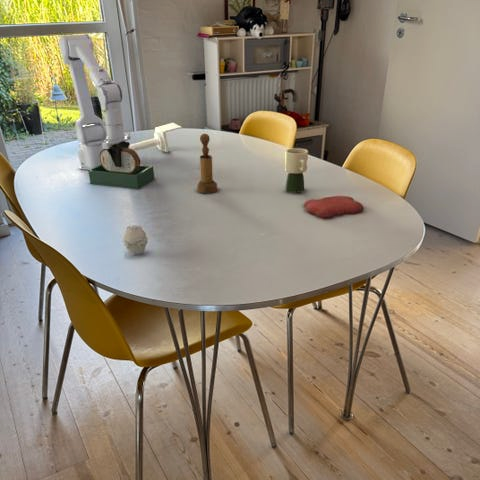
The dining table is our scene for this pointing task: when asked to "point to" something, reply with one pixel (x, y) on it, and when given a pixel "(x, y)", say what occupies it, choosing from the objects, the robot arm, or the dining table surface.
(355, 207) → the patty
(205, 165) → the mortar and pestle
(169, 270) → the dining table surface
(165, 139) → the paper towel holder
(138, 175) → the tote
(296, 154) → the character mug
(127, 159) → the tin
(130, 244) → the off-white lumpy ball
